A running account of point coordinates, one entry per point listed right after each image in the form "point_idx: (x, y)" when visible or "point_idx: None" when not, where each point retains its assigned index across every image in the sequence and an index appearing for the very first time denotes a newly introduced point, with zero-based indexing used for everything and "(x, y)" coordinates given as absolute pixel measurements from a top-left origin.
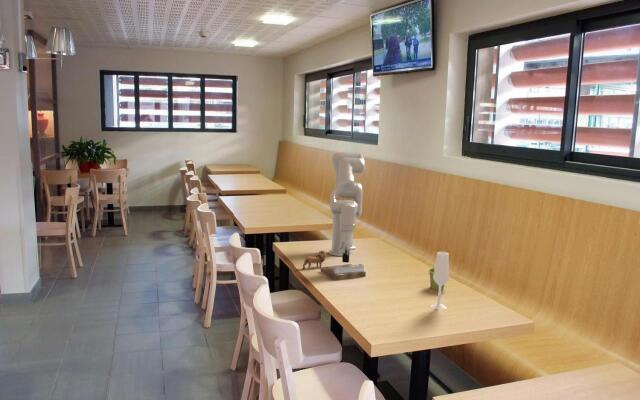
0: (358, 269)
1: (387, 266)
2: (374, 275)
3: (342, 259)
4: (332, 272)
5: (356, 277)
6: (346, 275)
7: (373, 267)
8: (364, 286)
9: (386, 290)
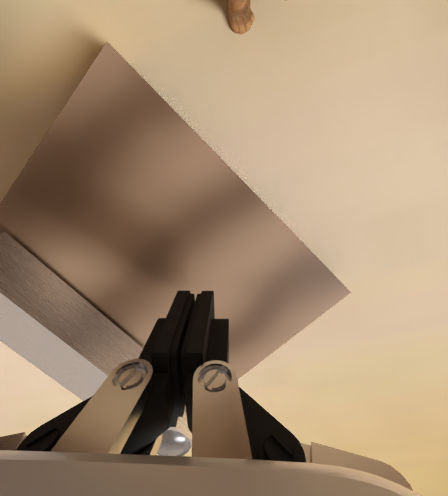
0: None
1: (441, 447)
2: None
3: (172, 305)
4: (24, 221)
5: None
6: None
7: (400, 393)
8: (23, 414)
9: None
